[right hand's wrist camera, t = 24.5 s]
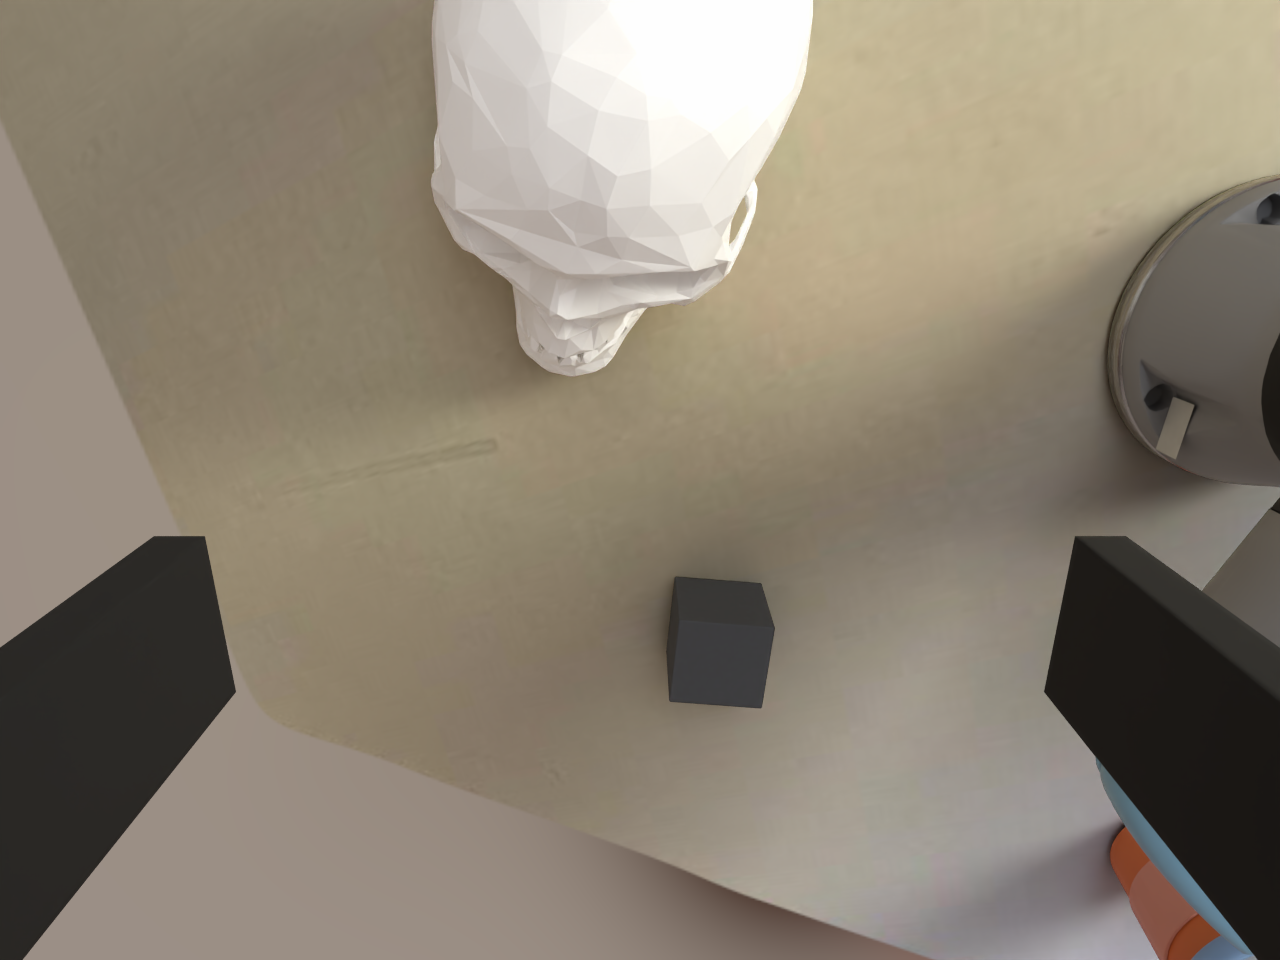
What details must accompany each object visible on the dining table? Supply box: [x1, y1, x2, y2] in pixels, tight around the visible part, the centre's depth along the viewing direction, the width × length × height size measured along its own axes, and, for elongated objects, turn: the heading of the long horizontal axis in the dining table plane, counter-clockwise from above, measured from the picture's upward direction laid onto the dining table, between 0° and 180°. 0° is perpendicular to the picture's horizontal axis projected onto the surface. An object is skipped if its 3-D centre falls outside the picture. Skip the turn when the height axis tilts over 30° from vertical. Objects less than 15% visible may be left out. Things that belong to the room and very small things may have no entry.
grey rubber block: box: [666, 577, 775, 708], centre depth 45 cm, size 5×5×5 cm
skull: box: [431, 0, 813, 377], centre depth 31 cm, size 13×22×16 cm, turn 170°
